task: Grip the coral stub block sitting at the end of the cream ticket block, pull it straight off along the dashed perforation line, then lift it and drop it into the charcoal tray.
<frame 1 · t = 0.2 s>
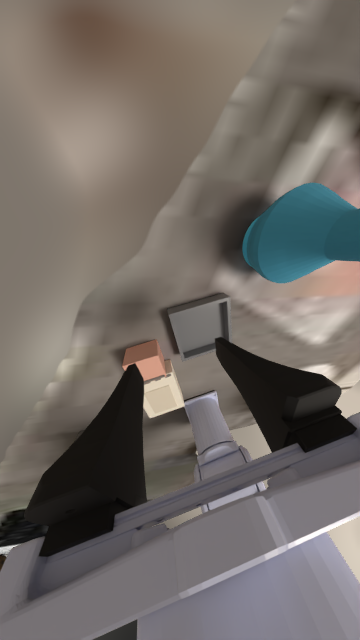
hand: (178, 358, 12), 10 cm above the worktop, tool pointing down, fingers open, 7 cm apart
ticket block: (159, 382, 27), on the worktop
stub: (146, 353, 23), on the worktop
tray: (199, 325, 23), on the worktop
perfume bottle: (263, 242, 19), on the worktop
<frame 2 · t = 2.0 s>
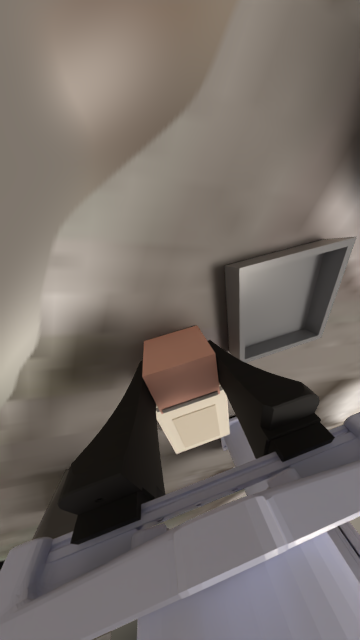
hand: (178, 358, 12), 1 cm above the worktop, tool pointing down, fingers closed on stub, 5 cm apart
ticket block: (190, 397, 17), on the worktop
stub: (176, 351, 14), on the worktop, touching gripper
tray: (270, 302, 13), on the worktop
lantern: (104, 497, 26), on the worktop
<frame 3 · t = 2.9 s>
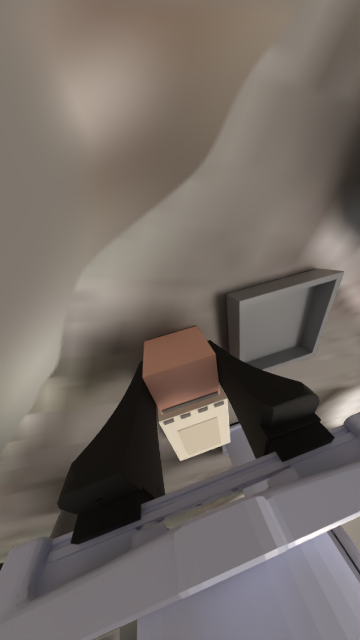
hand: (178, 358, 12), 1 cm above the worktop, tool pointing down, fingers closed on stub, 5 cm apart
ticket block: (193, 407, 18), on the worktop
stub: (176, 351, 14), on the worktop, touching gripper
tray: (268, 323, 14), on the worktop
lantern: (109, 500, 27), on the worktop
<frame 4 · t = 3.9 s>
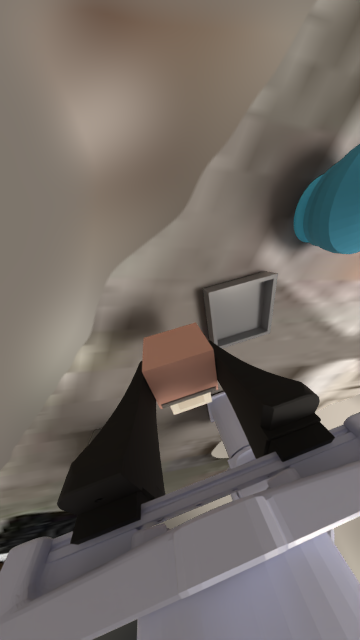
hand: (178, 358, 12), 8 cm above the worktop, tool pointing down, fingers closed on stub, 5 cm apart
ticket block: (183, 375, 24), on the worktop
stub: (175, 348, 14), point 6 cm above the worktop, touching gripper
tray: (235, 310, 20), on the worktop
perfume bottle: (316, 211, 17), on the worktop
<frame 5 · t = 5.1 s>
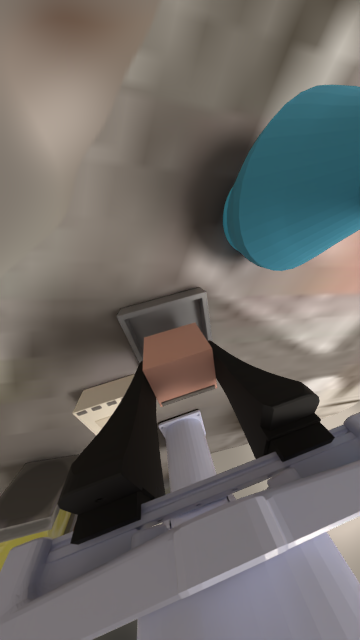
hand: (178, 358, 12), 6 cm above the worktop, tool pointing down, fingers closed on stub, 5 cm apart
ticket block: (123, 403, 21), on the worktop
stub: (175, 347, 14), point 4 cm above the worktop, touching gripper
tray: (170, 331, 17), on the worktop
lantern: (68, 488, 30), on the worktop
perfume bottle: (253, 215, 14), on the worktop
when the fingers open (4 cm above the worktop, at t = 5.9 s): stub drops 1 cm, resting on tray.
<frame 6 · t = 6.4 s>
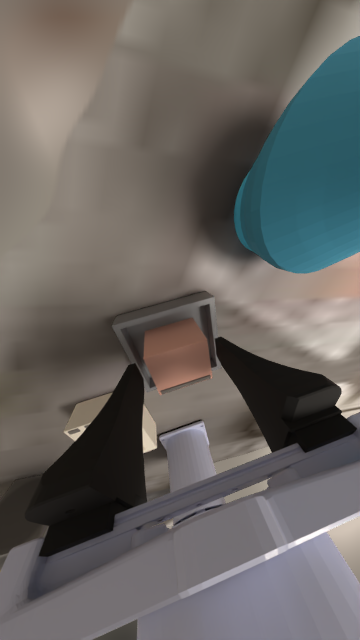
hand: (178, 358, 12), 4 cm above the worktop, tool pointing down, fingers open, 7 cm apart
ticket block: (121, 415, 19), on the worktop
stub: (174, 341, 15), point 1 cm above the worktop, touching tray
tray: (173, 339, 15), on the worktop
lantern: (64, 502, 28), on the worktop
perfume bottle: (268, 209, 12), on the worktop
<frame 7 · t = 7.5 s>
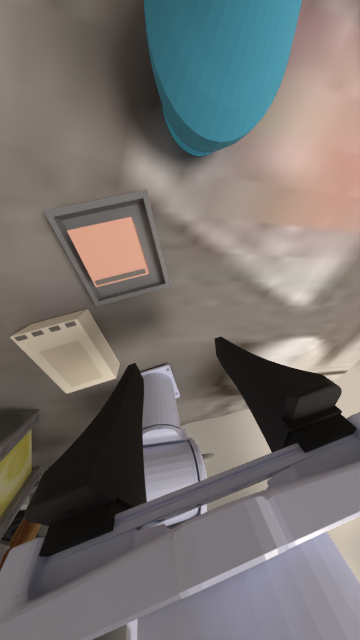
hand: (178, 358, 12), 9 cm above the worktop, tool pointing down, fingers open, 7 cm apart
ticket block: (81, 346, 20), on the worktop
stub: (120, 253, 15), point 1 cm above the worktop, touching tray
tray: (121, 255, 16), on the worktop
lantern: (37, 453, 29), on the worktop
perfume bottle: (198, 104, 12), on the worktop
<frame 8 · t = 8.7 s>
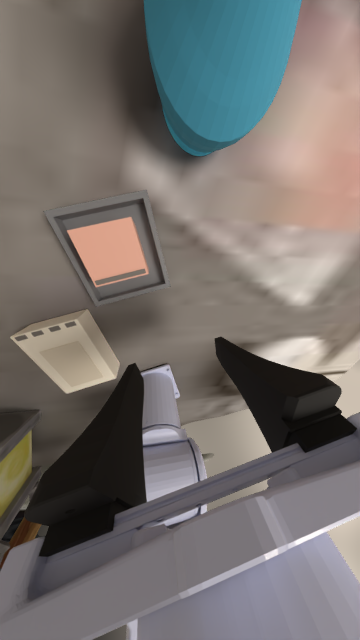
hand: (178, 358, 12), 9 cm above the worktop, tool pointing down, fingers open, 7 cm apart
ticket block: (81, 346, 20), on the worktop
stub: (120, 253, 15), point 1 cm above the worktop, touching tray
tray: (121, 255, 16), on the worktop
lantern: (37, 453, 29), on the worktop
perfume bottle: (198, 104, 12), on the worktop
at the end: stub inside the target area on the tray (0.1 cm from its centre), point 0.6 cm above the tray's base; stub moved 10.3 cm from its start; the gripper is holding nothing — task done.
